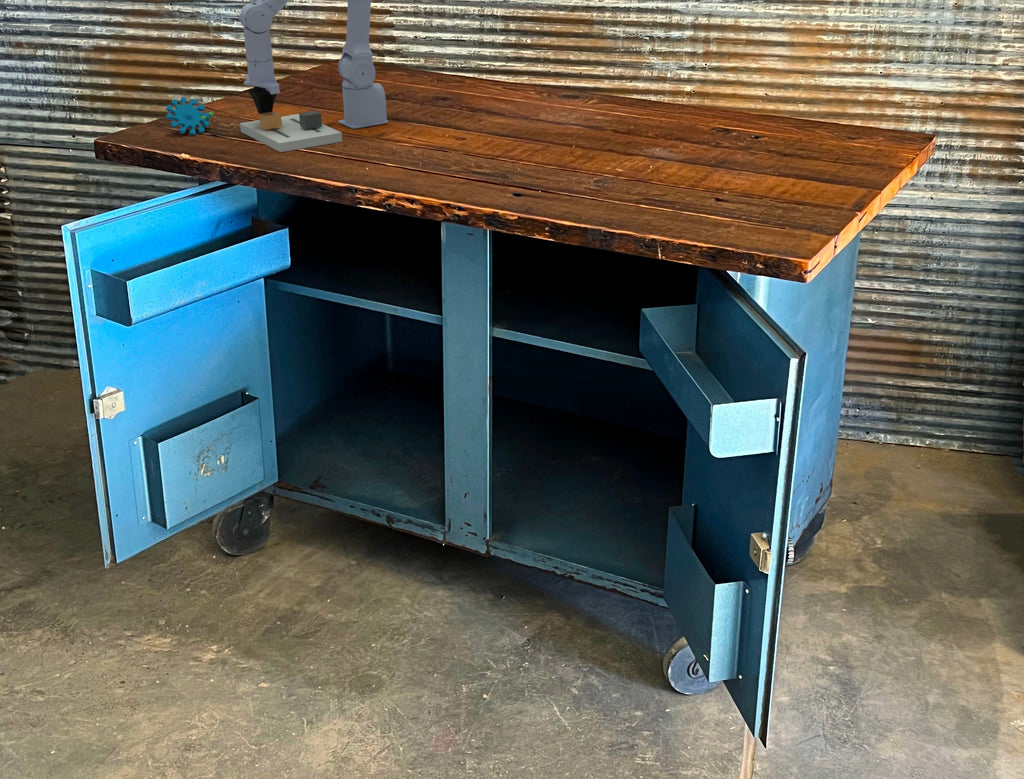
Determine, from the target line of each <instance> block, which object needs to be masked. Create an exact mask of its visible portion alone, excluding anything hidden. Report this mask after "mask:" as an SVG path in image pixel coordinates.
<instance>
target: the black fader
mask: <svg viewBox="0 0 1024 779" xmlns="http://www.w3.org/2000/svg"><path fill="white" fill-rule="evenodd" d="M298 114H299V118H300V127H302V128H304V129H310V128H316V127H322V124H323V121H322V120H323V119H322V113H321V112H319V111H316V110H311V111H306V112H299V113H298Z"/></svg>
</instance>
